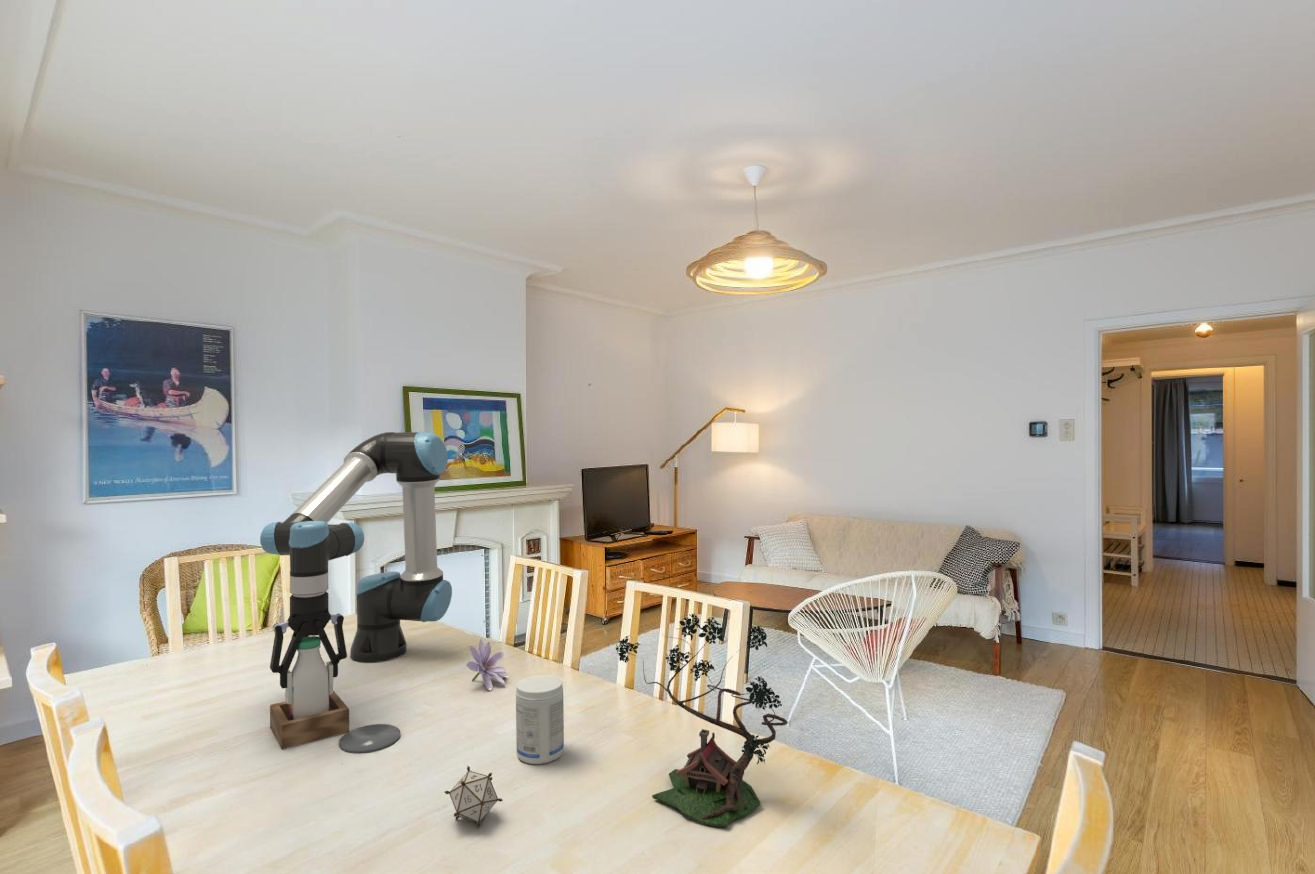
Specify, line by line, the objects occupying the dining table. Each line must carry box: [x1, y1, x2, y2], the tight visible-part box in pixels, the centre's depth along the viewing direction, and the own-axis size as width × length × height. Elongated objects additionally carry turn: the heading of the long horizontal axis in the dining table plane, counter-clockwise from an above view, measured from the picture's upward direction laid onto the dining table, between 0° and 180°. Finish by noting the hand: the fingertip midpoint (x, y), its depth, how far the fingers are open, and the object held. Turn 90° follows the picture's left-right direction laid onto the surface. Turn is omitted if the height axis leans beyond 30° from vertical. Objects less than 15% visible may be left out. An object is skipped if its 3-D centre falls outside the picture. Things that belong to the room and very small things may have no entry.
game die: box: [444, 765, 504, 829], centre depth 114 cm, size 9×8×10 cm
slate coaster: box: [338, 723, 401, 754], centre depth 143 cm, size 12×12×1 cm
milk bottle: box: [289, 635, 329, 721], centre depth 147 cm, size 8×8×20 cm
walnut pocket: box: [269, 690, 350, 750], centre depth 148 cm, size 13×13×5 cm
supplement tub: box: [515, 674, 565, 765], centre depth 137 cm, size 10×10×15 cm
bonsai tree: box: [615, 613, 789, 828], centre depth 126 cm, size 35×24×32 cm
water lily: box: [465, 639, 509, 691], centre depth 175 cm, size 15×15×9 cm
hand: (309, 696), depth 147 cm, fingers closed on milk bottle, 7 cm apart
